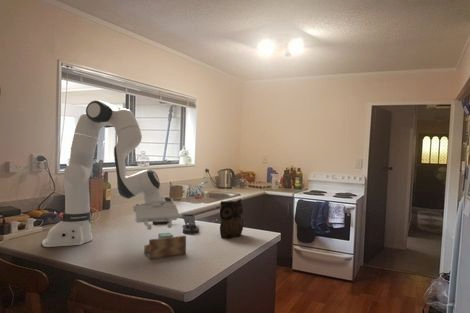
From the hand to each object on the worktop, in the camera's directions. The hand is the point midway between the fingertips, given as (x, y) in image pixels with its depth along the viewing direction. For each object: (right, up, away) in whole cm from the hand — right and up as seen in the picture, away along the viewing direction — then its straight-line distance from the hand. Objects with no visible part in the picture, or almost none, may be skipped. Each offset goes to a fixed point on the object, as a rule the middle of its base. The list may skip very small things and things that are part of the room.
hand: (159, 228), depth 156 cm
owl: (+31, -10, +29) cm, 44 cm away
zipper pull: (+8, -10, +43) cm, 45 cm away
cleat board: (+3, -11, -4) cm, 12 cm away
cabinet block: (+4, -10, -5) cm, 11 cm away
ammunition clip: (-11, -9, +55) cm, 57 cm away
